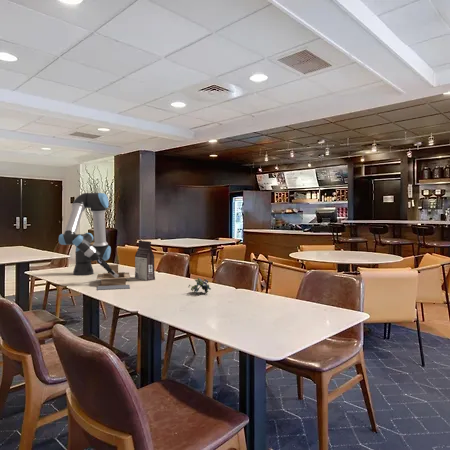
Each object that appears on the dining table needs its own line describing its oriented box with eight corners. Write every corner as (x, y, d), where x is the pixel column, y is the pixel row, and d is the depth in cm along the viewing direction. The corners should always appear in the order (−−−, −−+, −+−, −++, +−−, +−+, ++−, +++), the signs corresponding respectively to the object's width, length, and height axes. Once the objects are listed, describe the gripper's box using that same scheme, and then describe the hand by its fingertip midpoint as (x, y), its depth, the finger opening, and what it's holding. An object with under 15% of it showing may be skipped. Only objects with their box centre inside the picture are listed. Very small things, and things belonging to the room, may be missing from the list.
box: (109, 281, 261) (109, 264, 260) (118, 281, 262) (118, 264, 262) (109, 283, 255) (109, 265, 255) (118, 282, 257) (118, 265, 256)
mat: (97, 286, 243) (97, 286, 243) (129, 285, 249) (129, 284, 249) (97, 290, 232) (97, 289, 232) (130, 288, 238) (130, 287, 238)
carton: (98, 280, 268) (98, 273, 268) (128, 278, 274) (128, 272, 274) (96, 286, 243) (96, 279, 243) (130, 285, 250) (130, 277, 249)
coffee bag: (156, 279, 272) (156, 241, 271) (146, 281, 266) (146, 241, 265) (143, 276, 284) (143, 240, 283) (133, 278, 277) (133, 240, 276)
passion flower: (205, 301, 227) (215, 287, 223) (192, 301, 219) (202, 286, 215) (196, 288, 234) (206, 274, 230) (183, 288, 226) (193, 273, 222)
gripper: (89, 256, 263) (113, 278, 268) (87, 259, 244) (113, 282, 250) (97, 248, 264) (121, 270, 269) (96, 251, 246) (121, 274, 251)
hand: (117, 276), depth 259 cm, fingers closed on box, 6 cm apart
